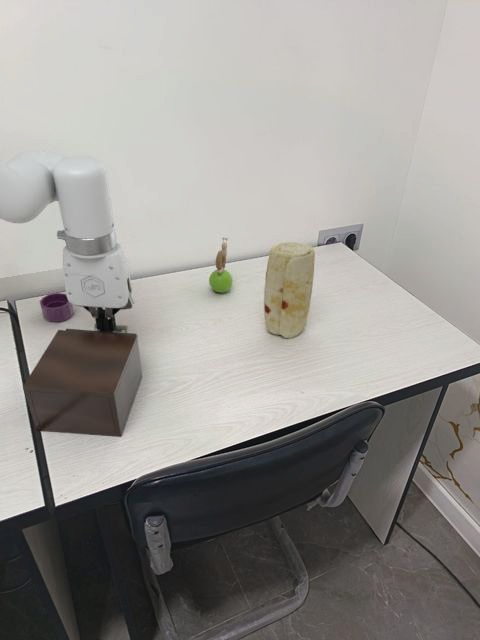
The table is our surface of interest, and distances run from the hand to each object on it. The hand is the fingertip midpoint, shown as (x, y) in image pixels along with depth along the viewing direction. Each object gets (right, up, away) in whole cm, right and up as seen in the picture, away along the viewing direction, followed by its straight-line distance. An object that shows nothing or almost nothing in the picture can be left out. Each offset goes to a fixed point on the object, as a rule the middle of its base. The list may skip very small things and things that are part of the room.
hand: (107, 332), depth 90 cm
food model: (+33, +1, +15) cm, 36 cm away
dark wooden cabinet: (-1, -12, -5) cm, 13 cm away
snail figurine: (+18, +11, +27) cm, 34 cm away
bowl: (-15, +4, +15) cm, 22 cm away
